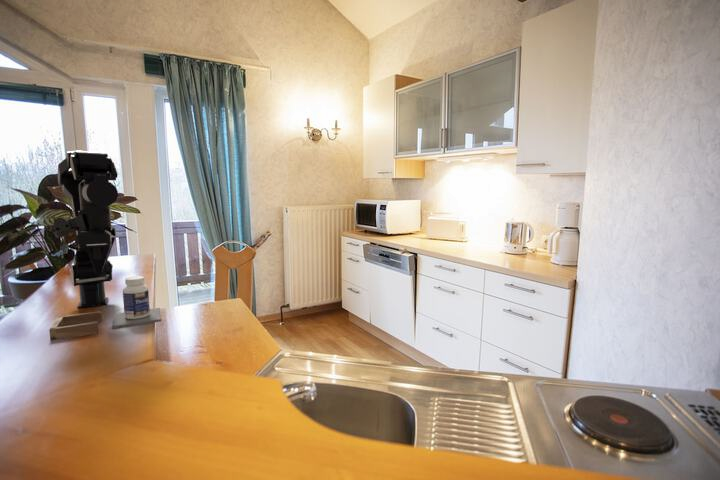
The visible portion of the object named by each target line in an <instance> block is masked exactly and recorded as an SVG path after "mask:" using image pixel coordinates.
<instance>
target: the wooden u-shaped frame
mask: <svg viewBox="0 0 720 480" xmlns="http://www.w3.org/2000/svg"><path fill="white" fill-rule="evenodd" d="M102 322H103V313H102V310H99V311H91V312H83V313H76V314H67V315H60V316H59V315H58V317H57V318H56V319H55V321H54V322H53V323H52V325H51V326H50V328H49V330H48V331H49V340H50V341H51V342H52V341H56V340H57V341H58V340H64V339H69V338H77V337H83V336H89V335H90V336H91V335H95V334H99V324H100V323H102Z"/></svg>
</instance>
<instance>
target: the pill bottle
mask: <svg viewBox="0 0 720 480" xmlns="http://www.w3.org/2000/svg"><path fill="white" fill-rule="evenodd" d="M124 283H125V285H126V286H125V287H123V288H122V298H123V313H124V315H125V318H127V319H139V318H143V317H146V316H148V315H149V314H150V309H151V308H150V295H149V287H148V286H147V285H146V284H145V276H142V275H137V276H129V277H128V276H127V277H126V278H125V281H124Z"/></svg>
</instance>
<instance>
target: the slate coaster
mask: <svg viewBox="0 0 720 480" xmlns="http://www.w3.org/2000/svg"><path fill="white" fill-rule="evenodd" d="M149 309H150V314H149V315H148V316H146V317H143V318H139V319H127V318H125V315H124V312H118V313H114V316H113V320H112V324H111V330H112V329H119V328H125V327H132V326H134V327H135V326H140V325H145V324H147V325H148V324H152V323H153V324H155V323H158V322H160V323H161V322H162V314H161V307H155V308H149Z"/></svg>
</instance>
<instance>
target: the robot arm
mask: <svg viewBox="0 0 720 480" xmlns="http://www.w3.org/2000/svg"><path fill="white" fill-rule="evenodd" d="M65 155H66V156H65V159H63V160H62V161H61V162H59V163H58V165H57V181H58V182H57V183H58V186H61V189H62V194H63V195H64V196H66V198H68V200H70V201H71V207H72V208H71V209H72V213H73V214H72V215H73V217H72V218H68V219H66V218H65V217H64V216H61V217H59V218H58V217H57V218H55V219H53V224H51V225H49V226H50V228H51V229H50V231H51V232H52V233H53V234H54V235H55V238H57V239H59V238H62V237H64V236H66V235H68V234H71V233H74V232H75V233H76V234H75V235H76V236H75V244H76V246H77V247H78V249H77V251H76V252H75V254H74V257H73V261H72V262H73V263H71V264H70V281H71V284H72V286H73V287H77V286H78V291H79V300H80V301H79V302H78V304H77V306H76V307H77V309H79V308H80V309H81V308H89V307H96V306H104V305H107V303H108V301H109V297H106V289H105V287H106V286H105V282H112V281H113V267H114V266H113V264H112V263H111V260H110V259H109V256H110V254H111V252H112V248H113V246H114V244H115V241H116V237H117V230H116V227H115V226H113V224H112V217H111V216H112V215H111V214H112V208H111V205H114V203H115V202H116V201H117V200H118V197H119V196H118V195H119V191H118V189H117V187H116V186H115V185H114V184H113V183H112V182H110V181H117V178H118V171H117V167H116V166H115V165H116V164H115V162H114V161H113V159H112V157H109V155H108V153H107V152H105V151H104V152H103V151H92V150H91V151H89V150H87V151H86V150H85V151H84V150H70V151H66V154H65Z"/></svg>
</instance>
